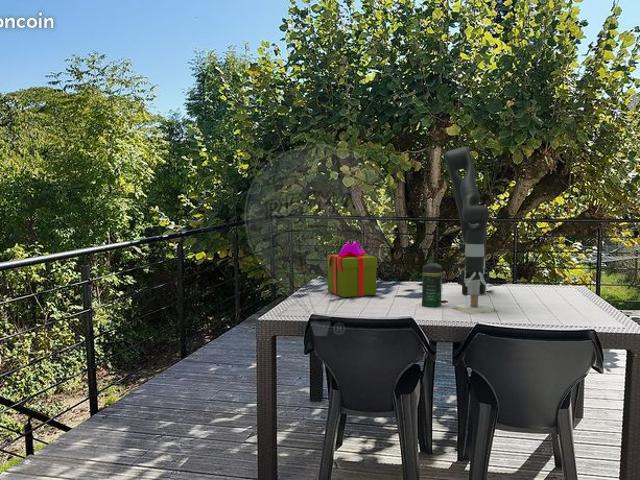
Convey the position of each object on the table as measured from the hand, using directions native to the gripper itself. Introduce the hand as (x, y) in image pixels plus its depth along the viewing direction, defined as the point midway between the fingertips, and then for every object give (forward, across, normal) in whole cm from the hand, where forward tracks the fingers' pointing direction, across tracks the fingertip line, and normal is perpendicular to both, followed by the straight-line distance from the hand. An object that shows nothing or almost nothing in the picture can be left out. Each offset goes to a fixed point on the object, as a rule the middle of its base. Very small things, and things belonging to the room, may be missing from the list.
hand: (473, 294), depth 233 cm
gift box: (+7, +26, -57) cm, 63 cm away
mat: (+7, 0, 0) cm, 7 cm away
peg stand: (+6, 0, 0) cm, 6 cm away
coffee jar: (+7, +10, -15) cm, 19 cm away
